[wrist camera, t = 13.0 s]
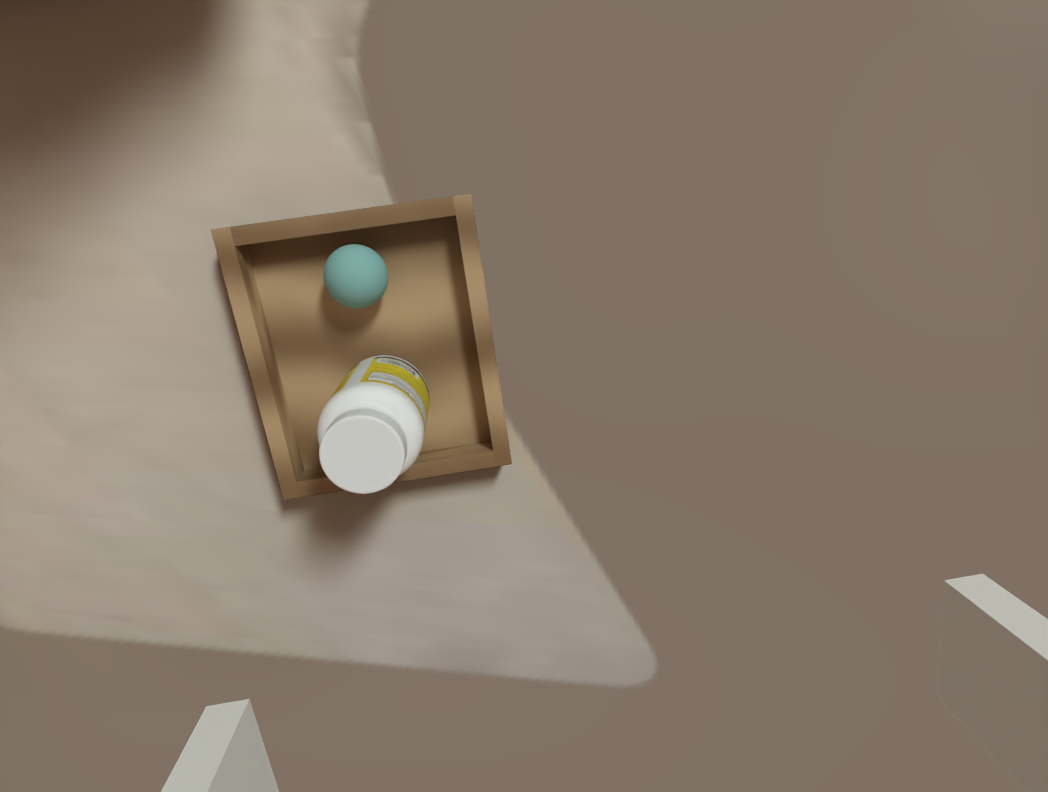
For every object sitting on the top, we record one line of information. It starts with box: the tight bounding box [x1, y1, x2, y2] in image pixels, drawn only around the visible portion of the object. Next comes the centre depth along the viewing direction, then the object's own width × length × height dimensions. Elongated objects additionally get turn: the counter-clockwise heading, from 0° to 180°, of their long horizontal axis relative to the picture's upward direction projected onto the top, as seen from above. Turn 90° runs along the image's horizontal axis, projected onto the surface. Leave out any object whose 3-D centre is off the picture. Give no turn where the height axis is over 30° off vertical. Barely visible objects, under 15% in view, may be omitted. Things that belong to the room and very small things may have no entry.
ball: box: [323, 244, 388, 308], centre depth 35 cm, size 4×4×4 cm
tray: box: [211, 194, 512, 500], centre depth 37 cm, size 16×14×2 cm
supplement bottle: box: [317, 355, 430, 494], centre depth 34 cm, size 5×5×10 cm
